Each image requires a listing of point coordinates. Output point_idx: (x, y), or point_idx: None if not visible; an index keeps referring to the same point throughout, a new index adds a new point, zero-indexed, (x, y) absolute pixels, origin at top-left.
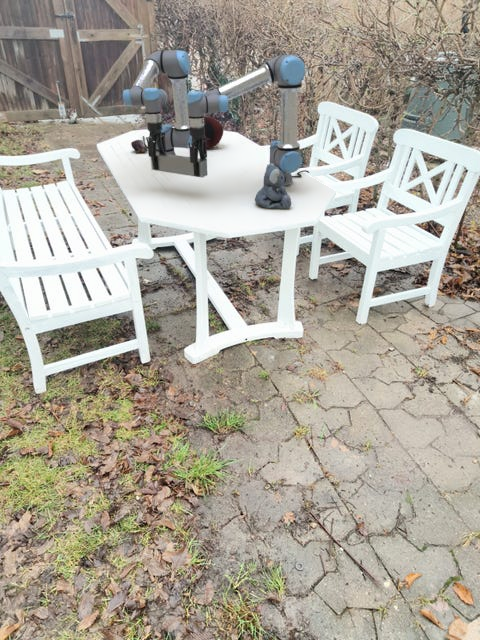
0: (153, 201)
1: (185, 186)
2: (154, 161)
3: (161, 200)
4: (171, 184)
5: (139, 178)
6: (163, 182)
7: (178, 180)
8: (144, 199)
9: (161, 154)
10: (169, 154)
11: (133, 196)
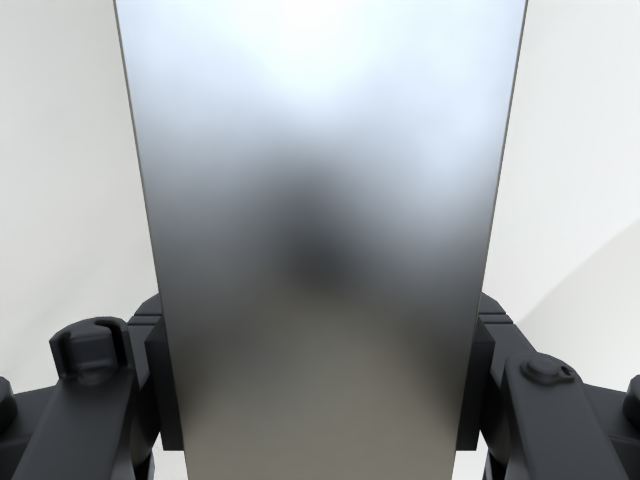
0: (603, 71)
1: (100, 40)
2: (506, 318)
3: (558, 13)
4: (137, 202)
5: (171, 476)
6: (137, 291)
7: (13, 210)
8: (573, 178)
9: (294, 329)
10: (141, 73)
11: (530, 296)
